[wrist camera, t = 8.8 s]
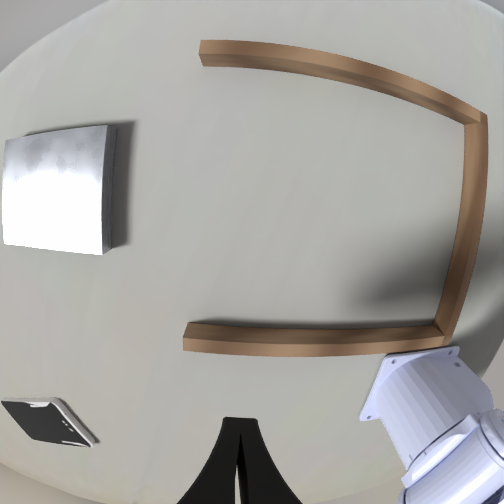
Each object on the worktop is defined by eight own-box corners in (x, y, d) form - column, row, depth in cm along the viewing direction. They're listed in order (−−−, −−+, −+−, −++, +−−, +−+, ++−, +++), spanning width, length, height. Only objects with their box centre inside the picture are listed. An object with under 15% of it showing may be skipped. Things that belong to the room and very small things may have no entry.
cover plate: (120, 129, 16) (107, 124, 14) (114, 247, 18) (102, 254, 16) (20, 141, 15) (5, 140, 13) (19, 237, 17) (4, 243, 15)
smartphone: (-1, 400, 21) (54, 401, 20) (3, 395, 22) (59, 394, 21) (31, 439, 23) (95, 447, 22) (35, 433, 24) (99, 439, 23)
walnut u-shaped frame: (471, 117, 15) (487, 115, 13) (436, 334, 20) (448, 345, 18) (205, 53, 14) (200, 39, 12) (188, 334, 19) (183, 350, 17)
